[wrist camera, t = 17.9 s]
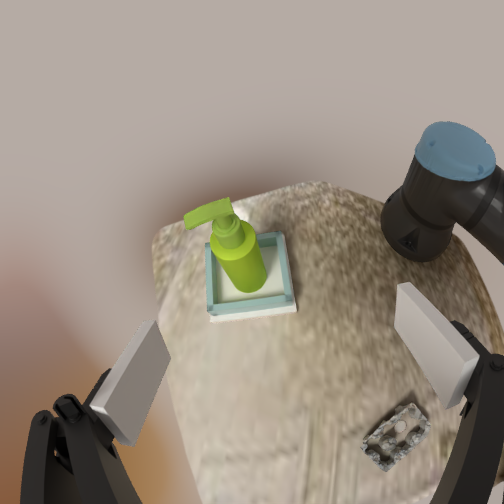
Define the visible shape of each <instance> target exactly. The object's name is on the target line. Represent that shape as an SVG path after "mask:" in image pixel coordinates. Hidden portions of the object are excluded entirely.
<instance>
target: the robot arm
mask: <svg viewBox="0 0 504 504" xmlns="http://www.w3.org/2000/svg"><path fill="white" fill-rule="evenodd" d="M456 222H457V223H458V224H459V225H460V226H462V227H463V228H464V229H466V230H467V231H468V232H469V233H470V234H471V235H472V236H474V237H475V238H476V239H477V240H478V241H479V242H480V243H481V244H482V245H484V246H485V247H486V248H487V249H488V250H489V251H490V252H491V253H492V254H493V255H494V256H495V257H496V258H497V259H498V260H499V261H500V262H501V263H502V264H503V265H504V171H503V170H502V169H501V168H500V167H499V166H497V165H496V158H495V154H494V151H493V150H492V148H491V146H490V145H489V144H487V143H486V140H485V139H484V138H483V137H482V136H480V135H479V134H478V133H477V132H475V131H474V130H472V129H470V128H468V127H466V126H464V125H461V124H458V123H454V122H436V123H433V124H431V125H429V126H428V127H427V128H426V129H425V131H424V132H423V135H422V137H421V139H420V142H419V143H418V144H417V146H416V148H415V155H414V158H413V160H412V163H411V165H410V168H409V171H408V173H407V176H406V178H405V181H404V183H403V185H402V186H401V187H400V188H399V189H397V190H396V191H395V192H394V193H393V194H392V195H391V196H390V197H389V198H388V199H387V201H386V202H385V205H384V207H383V210H382V213H381V227H382V231H383V234H384V236H385V238H386V240H387V241H388V243H389V244H390V245H391V246H392V248H393V249H394V250H395V251H397V252H398V253H399V254H400V255H402V256H404V257H405V258H407V259H410V260H413V261H417V262H428V261H432V260H434V259H436V258H437V257H439V256H440V255H441V254H442V253H443V252H444V250H445V249H446V248H447V246H448V245H449V243H450V240H451V235H452V230H453V227H454V224H455V223H456ZM394 328H395V329H396V331H397V332H398V334H399V335H400V337H401V338H402V340H403V341H404V343H405V344H406V346H407V347H408V349H409V350H410V352H411V353H412V355H413V356H414V358H415V360H416V361H417V363H418V364H419V366H420V368H421V369H422V371H423V372H424V374H425V376H426V377H427V379H428V381H429V382H430V384H431V386H432V387H433V389H434V391H435V392H436V394H437V396H438V398H439V399H440V401H441V403H442V405H443V406H444V408H445V410H446V409H449V408H451V407H453V406H455V405H457V404H459V403H460V401H461V399H462V397H463V395H465V397H466V398H467V402H466V403H465V405H464V407H463V409H462V411H461V413H460V416H462V419H461V423H460V426H459V430H458V433H457V437H456V440H455V443H454V446H453V449H452V452H451V455H450V458H449V460H448V463H447V466H446V468H445V471H444V473H443V476H442V478H441V481H440V483H439V485H438V487H437V490H436V492H435V494H434V496H433V498H432V500H431V502H430V504H487V502H488V499H489V496H490V494H491V491H492V487H493V484H494V481H495V477H496V474H497V470H498V466H499V462H500V457H501V453H502V448H503V443H504V356H503V355H500V354H490V353H489V352H488V350H487V349H486V348H485V347H484V346H483V345H482V344H481V343H480V342H479V341H478V340H477V338H476V337H474V335H473V334H472V333H471V332H469V330H468V329H467V328H466V327H465V326H464V325H463V324H461V323H459V322H457V321H455V320H454V321H451V322H449V321H448V320H447V319H446V318H445V317H444V316H443V315H442V314H441V313H440V312H439V311H438V310H437V309H436V308H435V307H434V305H433V304H432V303H431V302H430V301H429V300H428V299H427V298H426V297H425V296H424V295H423V294H421V293H420V292H419V291H418V290H417V289H416V288H415V287H414V286H413V285H412V284H411V283H410V282H406V283H402V284H397V299H396V312H395V323H394ZM170 360H171V357H170V354H169V352H168V350H167V347H166V345H165V342H164V340H163V338H162V335H161V333H160V330H159V328H158V325H157V323H156V320H148V321H143V323H142V324H141V326H140V327H139V329H138V330H137V332H136V333H135V335H134V336H133V338H132V339H131V341H130V342H129V344H128V345H127V347H126V348H125V350H124V351H123V353H122V354H121V356H120V357H119V359H118V360H117V362H116V363H115V365H114V366H113V368H112V369H108V370H107V371H106V372H105V373H103V374H102V375H101V377H100V379H99V380H98V383H96V385H95V386H94V389H92V391H91V392H90V394H89V395H88V397H87V399H86V400H85V402H84V403H83V405H81V404H80V402H79V401H78V399H77V398H76V397H75V396H74V395H73V394H66V395H63V396H61V397H59V398H58V399H57V400H56V401H55V403H54V405H53V409H54V411H55V412H56V413H57V415H58V416H59V417H56V418H55V417H54V416H53V415H52V414H51V412H50V411H48V410H42V411H39V412H38V413H36V415H35V416H34V417H33V419H32V422H31V427H30V431H29V436H28V442H27V447H26V452H25V459H24V466H23V475H22V484H21V497H20V504H142V502H141V500H140V498H139V497H138V495H137V493H136V491H135V489H134V487H133V485H132V483H131V481H130V479H129V477H128V475H127V473H126V470H125V469H124V466H123V464H122V461H121V459H120V457H119V454H118V452H117V450H116V447H115V446H114V444H113V443H112V441H113V439H114V437H115V438H116V439H117V441H118V442H119V443H120V444H123V445H128V446H133V447H134V446H135V444H136V441H137V439H138V436H139V434H140V431H141V429H142V426H143V424H144V422H145V419H146V417H147V414H148V411H149V409H150V407H151V404H152V402H153V400H154V397H155V395H156V392H157V389H158V388H159V385H160V383H161V381H162V378H163V376H164V373H165V371H166V369H167V366H168V364H169V362H170ZM462 414H463V415H462ZM54 450H55V451H56V452H57V454H56V456H55V455H54ZM502 504H504V493H503V502H502Z"/></svg>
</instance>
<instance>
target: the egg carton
mask: <svg viewBox="0 0 504 504" xmlns="http://www.w3.org/2000/svg"><path fill="white" fill-rule="evenodd" d="M411 402H412V401H411ZM409 409H410V410H409ZM408 410H409V416H410V417H411V418H414V419H421V421H420V423H419V426H420V430H419V431H418V432H417V433H416V432H410V433H408V434H407V436H406V438H405V442H406V444H405V445H404V446H403V447H402V448H401V447H395V446H396V442H397V441H396V439H395V438H393V437H391V436H389V435H385V436H383V431H384V428H383V426H384V425H386V424H390V425H391V424H393V423H396V422H397V421H398V420H400V418H401V416H402V415H403V414H405V413H406V412H407V411H408ZM379 426H380V427H379V428H378V429H377V430H376V431H375V432H374V433H373V434H372V435H371V436H370V435H367V436H366V437H365V438H364V439H363V440H364V442H363V445H362V446H361V447H360V448H361V449H362V450H363V452H364V453H365V454H367V455H368V456H369V458H370V459H371V460H373V462H374V463H376V464H377V465H378V467H379V468H381V469H382V470H383V471H385V472H387V471H388V470H389V469H390V468H392V467H393V466H394V465H395V464H396V463H397V462H398V461H400V460H401V458H403V457H405V456H406V455H407V454H408V453H409V452H410V451H411V450H412V449H413V448H415V446H416V445H417V444H419V443H420V442H421V441H422V440H423V439H424V438H425V437H426V436H427V435H428V433H429V430H430V426H431V424H430V422H429V421H428V420H427V419H426V418H425V416H424V415H423V414H422V413H421V412H420V410H419V409H418V408H417V407H416V405H415V404H414V403H413V402H412V403H411V404H407V405H405V406H397V407H396V408H395V415H394V416H393V417H392V418H391V419H390V420H389V421H385V420H383V421H382V423H381V424H380V425H379ZM406 426H407V424H406V422H405V421H403V420H401V421H398V422H397V423H396V424H395V426H394V431H395V432H396V433H401V432H403V431H404V430H405V429H406ZM379 437H381V438H380V439H379V442H378V444H379V446H380V447H381V448H382V449H384V450H386V451H389V450H391V451H390V459H389V460H388V461H387V462H385V461H380V458H379V457H380V455H379V454H378V453H377V452H376V451H374V450H371V449H370V450H367V451H365V449H366V448H367V446H368V445H367V440H368V439H370V438H375V439H376V438H379Z"/></svg>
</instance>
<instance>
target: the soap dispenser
mask: <svg viewBox="0 0 504 504" xmlns="http://www.w3.org/2000/svg"><path fill="white" fill-rule="evenodd" d="M212 220H213V223H212V230H213V232H212V234H211V237H210V247H211V250H212V252H213V253H214V255H215V256H216V258H217V260H218V261H219V263H220V264H221V266H222V268H223V269H224V271H225V272H226V274H227V275H228V277H229V279H230V280H231V282H232V283H233V285H234V286H235V288H236V289H237V290H239V291H241V292H243V293H253V292H256V291H258V290H259V289H261V288H262V287H263V285H264V284H265V281H266V277H267V274H266V270H265V266H264V263H263V259H262V255H261V252H260V248H259V245H258V241H257V238H256V234H255V231H254V229H253V227H252V226H251V225H250V224H249V223H247V222H246V221H243V220H240V219H239V217H238V216H237V215H236V214H234V211H233V208H232V205H231V202H230V199H229V197H228V198H224V199H221V200H217V201H214V202H211V203H208V204H205V205H203V206H200V207H198V208H196V209H194V210H192V211H191V212H189V213H187V214H186V215H184V222H185V227H186V229H188V230H191V229H193V228H195V227H197V226H199V225H201V224H204V223H206V222H209V221H212Z"/></svg>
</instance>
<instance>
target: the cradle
mask: <svg viewBox="0 0 504 504" xmlns="http://www.w3.org/2000/svg"><path fill="white" fill-rule="evenodd" d="M256 238H257V241H258V245H259V248H260V252H261V255H262V259H263V263H264V266H265V270H266V274H267V277H266V281H265V284H264V285H263V287H262V288H261V289H259V290H258V291H256V292H253V293H243V292H241V291H239V290H237V289H236V288H235V286H234V285H233V283H232V282H231V280H230V279H229V277H228V275H227V274H226V272H225V271H224V269H223V268H222V266H221V264H220V263H219V261H218V260H217V258H216V256H215V255H214V253H213V252H212V250H211V247H210V242H209V243H205V262H206V294H207V312H208V313H210V322H211V323H212V324H214V323H224V322H232V321H241V320H249V319H257V318H265V317H272V316H279V315H286V314H292V313H297V310H296V303H295V297H294V290H293V284H292V278H291V272H290V265H289V259H288V254H287V248H286V242H285V236H284V234H282V233H281V231H276V232H270V233H263V234H257V235H256Z"/></svg>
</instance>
